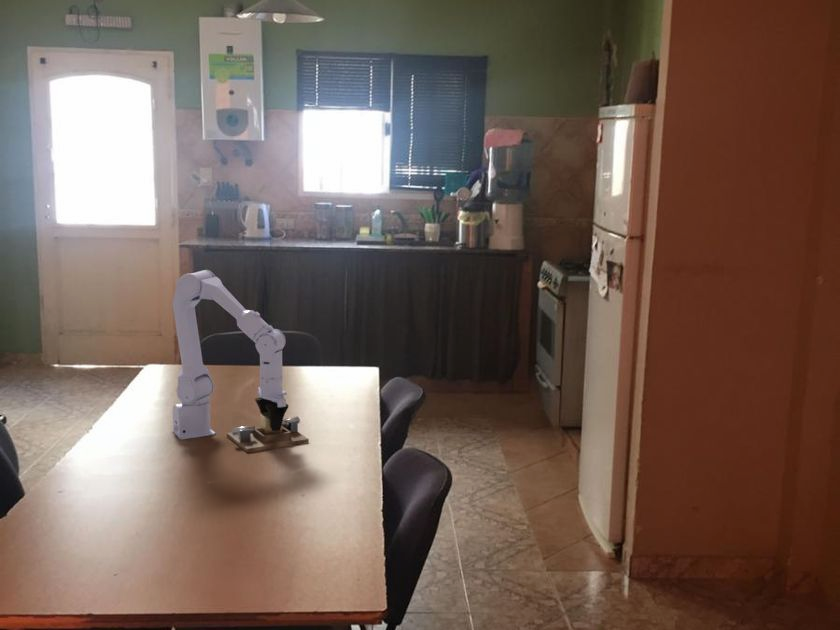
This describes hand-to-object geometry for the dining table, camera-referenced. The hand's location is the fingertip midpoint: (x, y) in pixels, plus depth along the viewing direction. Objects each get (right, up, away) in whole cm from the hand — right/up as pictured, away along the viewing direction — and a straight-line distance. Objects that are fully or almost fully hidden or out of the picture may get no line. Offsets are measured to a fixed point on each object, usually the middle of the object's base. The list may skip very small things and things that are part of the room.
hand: (271, 427), depth 229 cm
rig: (-2, -4, +2) cm, 4 cm away
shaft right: (+4, -2, +6) cm, 8 cm away
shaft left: (-7, -3, -2) cm, 8 cm away
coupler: (0, -2, +1) cm, 2 cm away
